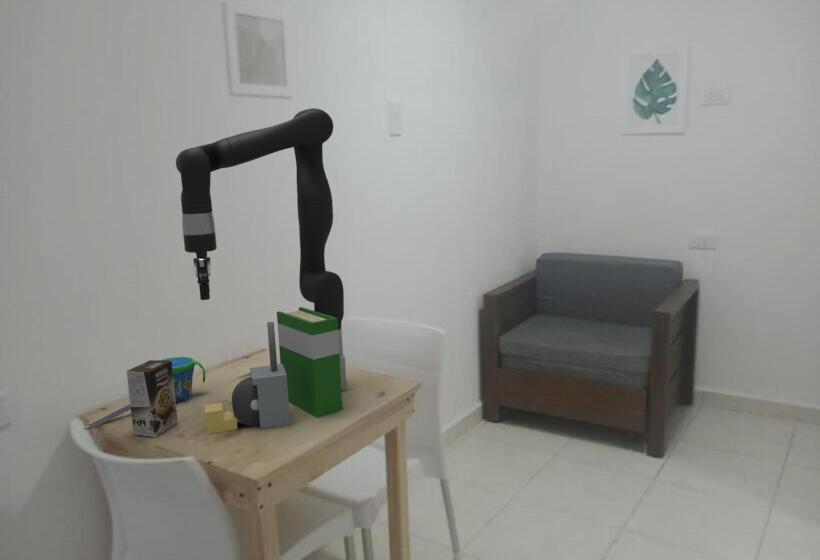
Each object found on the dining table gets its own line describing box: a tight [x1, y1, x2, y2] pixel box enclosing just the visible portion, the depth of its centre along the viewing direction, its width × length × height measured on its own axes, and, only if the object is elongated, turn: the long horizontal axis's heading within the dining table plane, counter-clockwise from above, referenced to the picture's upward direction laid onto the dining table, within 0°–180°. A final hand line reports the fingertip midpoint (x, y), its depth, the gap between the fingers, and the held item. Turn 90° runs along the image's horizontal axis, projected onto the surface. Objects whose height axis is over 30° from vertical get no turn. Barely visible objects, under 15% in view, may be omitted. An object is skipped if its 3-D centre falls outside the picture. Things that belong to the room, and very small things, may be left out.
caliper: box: [83, 402, 131, 431], centre depth 169 cm, size 20×1×6 cm, turn 138°
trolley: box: [231, 321, 291, 430], centre depth 160 cm, size 13×9×25 cm
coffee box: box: [126, 359, 179, 438], centre depth 159 cm, size 9×6×16 cm
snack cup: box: [162, 356, 206, 402], centre depth 181 cm, size 16×10×10 cm
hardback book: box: [276, 306, 344, 419], centre depth 171 cm, size 18×7×24 cm, turn 39°
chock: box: [204, 402, 238, 434], centre depth 159 cm, size 7×5×6 cm
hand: (205, 296), depth 165 cm, fingers open, 8 cm apart
